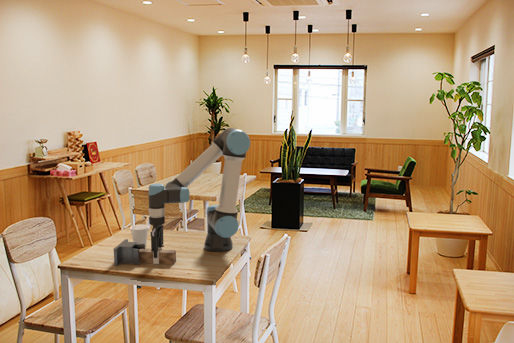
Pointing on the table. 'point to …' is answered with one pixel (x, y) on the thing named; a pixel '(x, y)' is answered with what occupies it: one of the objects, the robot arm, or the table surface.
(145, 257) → the slat
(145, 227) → the cup
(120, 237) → the table surface
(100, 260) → the table surface
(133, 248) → the endcap
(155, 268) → the table surface
